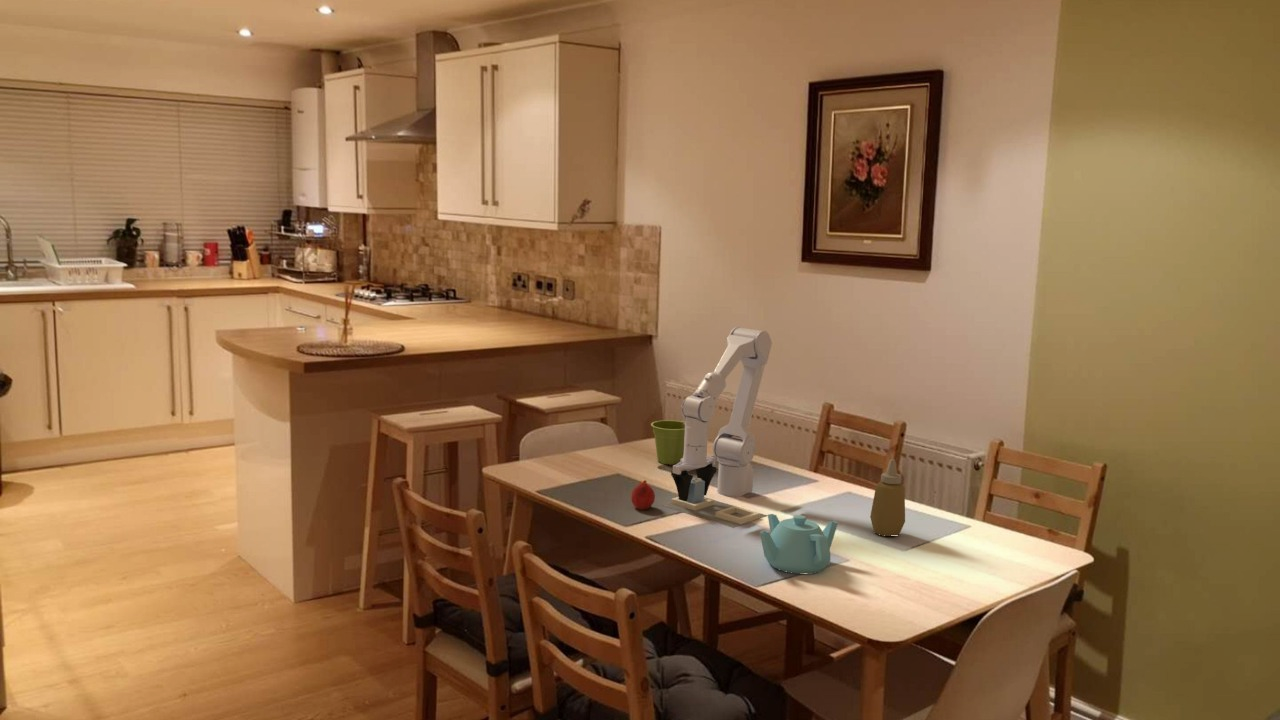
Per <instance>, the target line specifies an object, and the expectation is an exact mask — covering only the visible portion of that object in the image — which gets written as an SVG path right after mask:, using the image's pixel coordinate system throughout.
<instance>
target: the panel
mask: <svg viewBox="0 0 1280 720" xmlns="http://www.w3.org/2000/svg"><path fill="white" fill-rule="evenodd" d="M662 507H664V508H668V509H670V510H671V509H672V510H675V511H676V512H677V511H678V512H681V513H684V514H687V515H690V516H693V517H698V518H701V519H703V520H707V521H710V522H714V523H716V524H720V525H724V526H727V527H730V528H733V529H734V528H736V527H739V526H742V525H745V524H748V523H751V522H753V521H756V520H760V519H762V518H765V517H768V514H764V513H760V512H758V511H753V510H750V509H747V508H743V507H739V506H737V505H733V504H729V503H725V502H723V501H719V500H715V499H712V498H709V497H705V496H704V501H703V502H700V503H696V504H692V503H689V502H686V501H682V500H679V496H677V497H673V498H670V503H667V504H662Z"/></svg>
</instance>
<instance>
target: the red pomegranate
mask: <svg viewBox="0 0 1280 720" xmlns="http://www.w3.org/2000/svg"><path fill="white" fill-rule="evenodd" d="M630 498H631V499H630V500H631V503H632V505H633V507H635V508H636V509H637V510H642V511H643V510H644V511H645V510H648V509H649V508H650V507H652V506H653V504H654V502H655V501H656V500H655V499H656V494H655V492H654V489H653V488H652V487H651V486H650V485H649V484H648V482H647V480H646V479H642V480H641V482H640V483H639V484H637V485H636V486H635V487H634V488H633V489H632V491H631V494H630Z"/></svg>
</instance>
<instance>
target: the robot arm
mask: <svg viewBox="0 0 1280 720" xmlns="http://www.w3.org/2000/svg"><path fill="white" fill-rule="evenodd" d="M772 345H773V342H772V339H771V336H770V334H769V332H768V331H767V330H757V329H752V328H744V327H740V326H735V327H733V328H732V329H731V330H730V333H729V334H728V336H727V338H726V347H725V350H724V352H723V354H722V356H721V358H720V360H719V361H718V363H717V365H716V366H715V369H714V370H713V371H711V372H708V373H706V374H705V376H704V377H703V379H702V380H701V382H700V383H699V385H698V386H697V388H696V389H695V391H694V392H693V394H691V395H689V396H687V397H685V398H684V399H683V401H682V403H681V407H680V414H681V415H682V419H683V420H682V422H683V423H684V424H685V436H684V455H683V458H682V459H680V461H681V462H679V463H678V464H677V463H675V464H672V470H671V472H670V475H671V477H672V479H673V481H674V484H675V488H676V491H677V494H678V495H677V497H679V500H682V501H687V499H688V493H689V487H690V483H691V480H692V478H694V475H692V474H689V473H688V472H690V471H692V470H695V473H696V477H697V478H700V479H701V480H703V481H705V489H704V497H705V496H707V493H708V491H709V488H710V484H711V481H712V480H713V477H714V476H715V475H716V473H718V474H717V487H716V488H717V491H716V493H717V494H719V495H722V496H725V497H734V498H735V497H742V496H744V495H746V494H749V493H751V494H755V492H753V488H754V486H753V484H754V467H753V466H752V464H751V462H752V460H753V458H754V456H755V452H756V451H755V444H756V437H755V435H754V433H752V432H751V430H750V425H751V421H752V416H753V413H754V409H755V405H756V401H757V397H758V393H759V390H760V386H761V382H762V377H763V373H764V370H765V368H766V365H767V364H768V360H769V356H770V352H771V348H772ZM739 362H741V364H742V365H743V367H742V372H741V376H740V380H739V383H738V388H737V391H736V395H735V398H734V403H733V406H732V410H731V414H730V418H729V422H728V424H726V425H725V426H722V427H721V428H720V429H719V430H718V434H717V436H716V437H715V440H714V441H713V444H712V453H713V455H714V456H710V455H709V456H707V455H708V454H707V453H708V435H709V421H710V420H711V419H712V418H713V417H714V415H715V411H716V410H715V408H716V406H717V401H718V399H719V398H720V396H721V394H722V393H723V392H724V390H725V388H726V387H727V383H726V379H727V377H728V376H729V375H730V373H732V371H733V370H734V369H735V368H736V366H737V364H739ZM736 437H737V438H736ZM716 462H718V468H717V467H716ZM717 469H718V472H717ZM697 478H696V479H697Z"/></svg>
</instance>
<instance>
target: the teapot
mask: <svg viewBox="0 0 1280 720" xmlns="http://www.w3.org/2000/svg"><path fill="white" fill-rule="evenodd" d="M767 515H768V516H767V519H768V525H769V531H768V530H761V531H759V535H760V540H761V546H762V550H763V555H764V558H765V559H766V562H768V564H769V565H770V566H771V565H772V566H773V567H772V566H771V567H772V568H774V567H775V568H777V569H780V570H783V571H787V572H792V573H814V574H816V573H815V572H818V573H820V572H822V571H823V570H824V569H826V567H827V566H829V564H830V562H831V550H830V549H831V547H832V543H833V539H834V536H835V533H836V531H837V527H838V524H839V523H838V521H835V520H831V521H829V520H828V523H827V525H826V526H825V527H824V528H823V530H822V528H821V527H820V525H819V524H818V523H816V522H815V521H813V520H809V519H807V516H805V515H801V514H796V515H795V514H794V515H793V516H792V518H785V519H783V520H781V521H780V520H779V517H778V516H777V514H774V513H770V514H767ZM775 568H774V569H775ZM777 569H776V570H777ZM780 570H779V571H780ZM821 570H822V571H821ZM783 571H782V572H783ZM819 571H820V572H819ZM787 572H786V573H787ZM792 573H791V574H792Z"/></svg>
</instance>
